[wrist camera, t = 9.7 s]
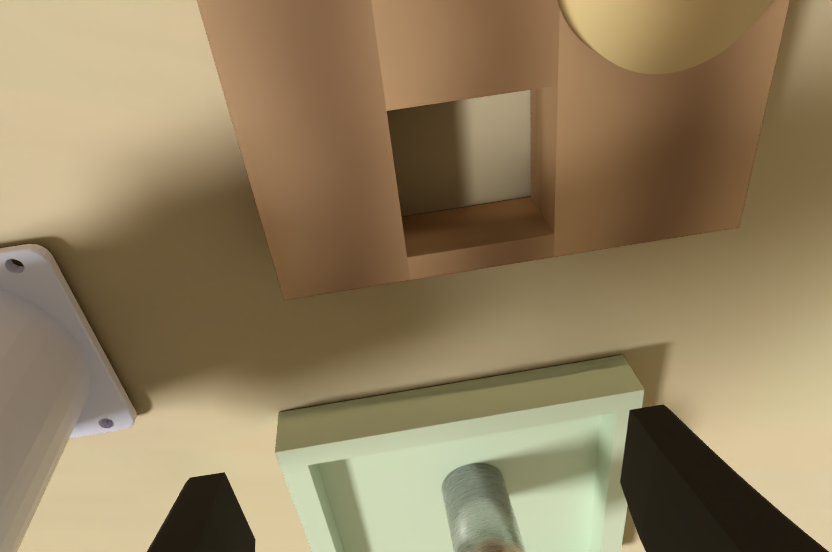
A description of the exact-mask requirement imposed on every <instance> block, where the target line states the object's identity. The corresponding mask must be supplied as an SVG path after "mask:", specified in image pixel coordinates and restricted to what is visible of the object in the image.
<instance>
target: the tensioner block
mask: <svg viewBox="0 0 832 552" xmlns="http://www.w3.org/2000/svg"><path fill="white" fill-rule="evenodd" d="M789 1H790V0H197V3H198V7H199V10H200V13H201V17H202V20H203V24H204V27H205V31H206V34H207V37H208V41H209V44H210V48H211V51H212V55H213V58H214V61H215V65H216V68H217V72H218V75H219V79H220V82H221V85H222V89H223V92H224V96H225V99H226V103H227V106H228V109H229V113H230V116H231V120H232V123H233V127H234V130H235V133H236V137H237V140H238V144H239V147H240V151H241V154H242V158H243V161H244V164H245V168H246V171H247V175H248V178H249V182H250V185H251V188H252V192H253V195H254V199H255V202H256V206H257V209H258V212H259V216H260V219H261V223H262V226H263V230H264V233H265V236H266V240H267V243H268V247H269V250H270V254H271V257H272V260H273V264H274V267H275V271H276V274H277V278H278V281H279V285H280V288H281V291H282V295H283V298H284V300H288V299H295V298H301V297H307V296H313V295H320V294H326V293H332V292H338V291H345V290H351V289H357V288H363V287H370V286H376V285H382V284H388V283H395V282H401V281H407V280H413V279H420V278H426V277H432V276H438V275H445V274H451V273H457V272H463V271H470V270H476V269H482V268H488V267H495V266H501V265H507V264H513V263H519V262H526V261H532V260H538V259H544V258H551V257H557V256H563V255H569V254H576V253H582V252H588V251H594V250H601V249H607V248H613V247H619V246H626V245H632V244H638V243H644V242H651V241H657V240H663V239H669V238H676V237H682V236H688V235H694V234H701V233H707V232H713V231H719V230H726V229H732V228H738V227H739V225H740V221H741V216H742V212H743V207H744V203H745V198H746V194H747V189H748V185H749V180H750V176H751V171H752V167H753V162H754V158H755V154H756V149H757V145H758V140H759V136H760V131H761V127H762V122H763V118H764V113H765V109H766V104H767V100H768V95H769V91H770V86H771V82H772V77H773V73H774V68H775V64H776V59H777V55H778V50H779V46H780V41H781V37H782V32H783V28H784V23H785V19H786V15H787V10H788V6H789ZM524 90H531V197H527V198H520V199H514V200H507V201H501V202H495V203H488V204H482V205H475V206H469V207H463V208H456V209H450V210H443V211H437V212H430V213H424V214H418V215H411V216H405V217H401V210H400V203H399V196H398V189H397V182H396V174H395V167H394V160H393V153H392V146H391V139H390V132H389V124H388V117H387V111H390V110H396V109H403V108H410V107H416V106H423V105H430V104H437V103H443V102H450V101H457V100H463V99H470V98H477V97H484V96H490V95H497V94H504V93H511V92H517V91H524Z"/></svg>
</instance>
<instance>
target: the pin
mask: <svg viewBox="0 0 832 552" xmlns="http://www.w3.org/2000/svg"><path fill="white" fill-rule="evenodd" d="M442 495H443V500H444V505H445V510H446V515H447V520H448V525H449V530H450V535H451V540H452V545H453V550H454V552H526V550H525V547H524V543H523V540H522V537H521V534H520V530H519V527H518V524H517V521H516V517H515V514H514V511H513V507H512V504H511V501H510V498H509V494H508V491H507V488H506V485H505V481H504V478H503V475H502V473H501V471H500V470H499V469H498V468H496V467H495V466H493V465H490V464H485V463H472V464H467V465H464V466H461V467H459V468H457V469H455V470H453V471H452V472H451V473H449V474H448V475H447V476H446V478H445V479H444V481H443V483H442Z"/></svg>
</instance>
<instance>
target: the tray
mask: <svg viewBox="0 0 832 552" xmlns="http://www.w3.org/2000/svg"><path fill="white" fill-rule="evenodd" d="M643 397H644V388H643V386H642V385H641V383H640V381H639V380H638V378H637V377H636V375H635V373H634V372H633V370H632V368H631V367H630V365H629V364H628V362H627V360H626V359H625V357H624V355H619V356H613V357H607V358H601V359H595V360H589V361H583V362H577V363H571V364H565V365H559V366H553V367H547V368H541V369H535V370H529V371H523V372H517V373H511V374H505V375H499V376H493V377H487V378H481V379H475V380H469V381H463V382H457V383H451V384H446V385H440V386H434V387H428V388H422V389H416V390H410V391H404V392H398V393H392V394H386V395H380V396H374V397H368V398H362V399H356V400H350V401H344V402H338V403H332V404H326V405H320V406H314V407H308V408H302V409H296V410H290V411H284V412H279V415H278V425H277V436H276V447H275V454H276V457H277V459H278V462H279V465H280V467H281V470H282V473H283V476H284V478H285V481H286V484H287V486H288V489H289V492H290V495H291V497H292V500H293V503H294V506H295V508H296V511H297V514H298V516H299V519H300V522H301V525H302V527H303V530H304V533H305V535H306V538H307V541H308V544H309V546H310V549H311V552H454V550H453V545H452V540H451V535H450V530H449V525H448V520H447V515H446V510H445V505H444V500H443V495H442V483H443V481H444V479H445V478H446V476H447V475H448V474H449V473H451V472H452V471H453V470H455V469H457V468H459V467H461V466H464V465H467V464H472V463H485V464H490V465H493V466H495V467H496V468H498V469H499V470H500V471H501V473H502V475H503V478H504V481H505V485H506V488H507V491H508V494H509V498H510V501H511V504H512V507H513V511H514V514H515V517H516V521H517V524H518V527H519V530H520V534H521V537H522V540H523V543H524V547H525V550H526V552H621V547H622V540H623V533H624V526H625V520H626V513H627V506H628V504H627V501H626V498H625V496H624V493H623V490H622V487H621V484H620V478H621V470H622V463H623V455H624V448H625V441H626V433H627V426H628V418H629V411H630V410H632V409H638V408H642V404H643Z"/></svg>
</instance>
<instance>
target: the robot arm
mask: <svg viewBox="0 0 832 552" xmlns="http://www.w3.org/2000/svg"><path fill="white" fill-rule="evenodd" d="M11 259H16V260H18V261H20V262H21V263H22V264H23V265H24V267H22V266H18V265H15V264H14V263H13V262H12V261H11ZM136 417H137V414H136V411H135V409H134V407H133V405H132V403H131V402H130V400H129V398H128V396H127V394H126V392H125V390H124V388H123V387H122V385H121V383H120V381H119V379H118V377H117V375H116V374H115V372H114V370H113V368H112V366H111V364H110V362H109V360H108V359H107V357H106V355H105V353H104V351H103V349H102V347H101V345H100V344H99V342H98V340H97V338H96V336H95V334H94V332H93V331H92V329H91V327H90V325H89V323H88V321H87V319H86V317H85V316H84V314H83V312H82V310H81V308H80V306H79V304H78V303H77V301H76V299H75V297H74V295H73V293H72V291H71V289H70V288H69V286H68V284H67V282H66V280H65V278H64V276H63V274H62V273H61V271H60V269H59V267H58V265H57V263H56V261H55V260H54V258H53V256H52V254H51V253H50V252H49V251H48V250H47V249H46V248H44V247H43V246H40V245H37V244H25V245H18V246H12V247H5V248H0V552H17V550H18V548H19V546H20V544H21V542H22V540H23V537H24V535H25V533H26V531H27V529H28V526H29V524H30V522H31V520H32V518H33V516H34V513H35V511H36V509H37V507H38V505H39V503H40V500H41V498H42V496H43V494H44V492H45V490H46V487H47V485H48V483H49V481H50V479H51V477H52V474H53V472H54V470H55V468H56V466H57V463H58V461H59V459H60V457H61V455H62V453H63V450H64V448H65V446H66V444H67V442H68V440H69V439H70V438H76V437H82V436H88V435H94V434H100V433H106V432H112V431H118V430H124V429H128V428H130V427H132V426H133V425H134V422H135V419H136ZM104 418H108V419H110V420H107V419H104ZM620 484H621V487H622V490H623V493H624V496H625V498H626V501H627V504H628V507H629V510H630V513H631V516H632V518H633V521H634V524H635V527H636V529H637V532H638V535H639V537H640V540H641V542H642V544H643V546H644V548H645V550H646V552H829V551H827V550H826V549H825V548H824V547H822V546H821V545H820V544H819V543H817V542H816V541H815V540H814V539H812V538H811V537H810V536H809V535H808V534H806V533H805V532H804V531H803V530H801V529H800V528H799V527H798V526H797V525H796V524H794V523H793V522H792V521H791V520H790V519H788V518H787V517H786V516H785V515H784V514H782V513H781V512H780V511H779V510H778V509H777V508H776V507H774V506H773V505H772V504H771V503H770V502H769V501H768V500H767V499H765V498H764V497H763V496H762V495H761V494H760V493H759V492H757V491H756V490H755V489H754V488H753V487H752V486H751V485H749V484H748V483H747V482H746V481H745V480H744V479H743V478H742V477H741V476H739V475H738V474H737V473H736V472H735V471H734V470H733V469H732V468H731V467H730V466H728V465H727V464H726V463H725V462H724V461H723V460H722V459H721V458H720V457H719V456H718V455H717V454H716V453H715V452H713V451H712V450H711V449H710V448H709V447H708V446H707V445H706V444H705V443H704V442H703V441H702V440H701V439H700V438H699V437H698V436H697V435H696V434H695V433H693V432H692V431H691V430H690V429H689V428H688V427H687V426H686V425H685V424H684V423H683V422H682V421H681V420H680V419H679V418H678V417H677V416H676V415H675V414H674V413H673V412H672V411H671V410H670V409H669V408H667V407H666V406H665V405H658V406H651V407H645V408H638V409H632V410H630V411H629V418H628V426H627V433H626V441H625V448H624V455H623V463H622V470H621V478H620ZM147 552H255V538H254V536H253V533H252V531H251V529H250V527H249V525H248V522H247V520H246V518H245V516H244V514H243V511H242V509H241V507H240V505H239V503H238V501H237V498H236V496H235V494H234V492H233V490H232V487H231V485H230V483H229V481H228V479H227V476H226V474H225V472H224V473H218V474H211V475H205V476H198V477H192V478H189V480H188V481H187V482H186V483H185V485H184V487H183V489H182V490H181V492H180V494H179V496H178V498H177V499H176V501H175V503H174V505H173V507H172V508H171V510H170V512H169V514H168V516H167V517H166V519H165V521H164V523H163V525H162V526H161V528H160V530H159V532H158V533H157V535H156V537H155V539H154V540H153V542H152V544H151V545H150V547H149V549H148V551H147Z"/></svg>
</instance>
